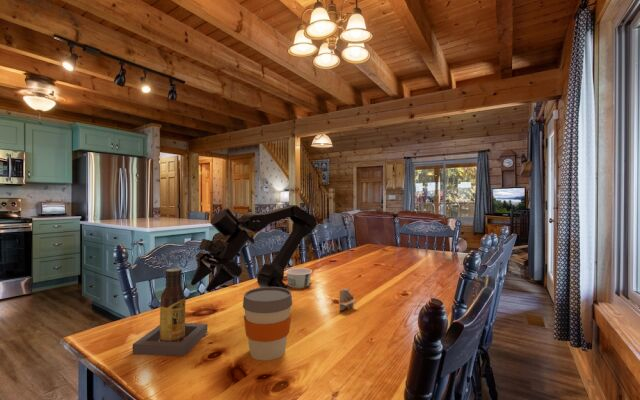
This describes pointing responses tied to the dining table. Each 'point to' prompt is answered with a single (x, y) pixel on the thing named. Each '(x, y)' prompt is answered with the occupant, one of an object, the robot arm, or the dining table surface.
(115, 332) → the dining table surface
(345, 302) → the architectural model
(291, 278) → the food container
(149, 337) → the grey square frame
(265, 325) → the reusable coffee cup
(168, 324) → the sauce bottle
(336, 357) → the dining table surface
